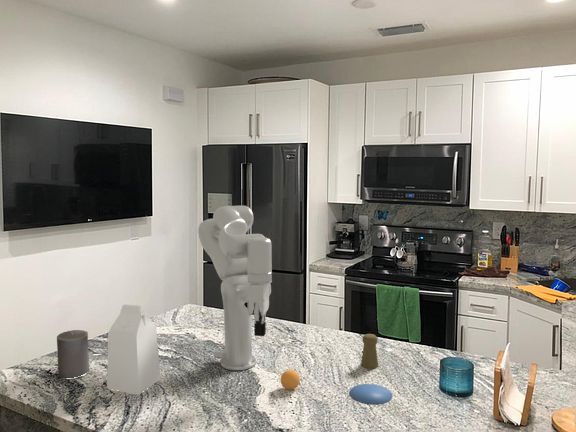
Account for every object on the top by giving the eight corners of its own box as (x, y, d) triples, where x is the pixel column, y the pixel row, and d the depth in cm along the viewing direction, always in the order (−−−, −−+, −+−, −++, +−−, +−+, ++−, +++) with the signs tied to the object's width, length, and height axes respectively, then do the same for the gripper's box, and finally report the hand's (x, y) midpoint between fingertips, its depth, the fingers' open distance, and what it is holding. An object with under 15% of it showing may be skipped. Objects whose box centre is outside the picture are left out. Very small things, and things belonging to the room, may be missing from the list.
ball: (279, 392, 152) (279, 373, 152) (282, 384, 158) (282, 366, 158) (298, 393, 151) (298, 375, 151) (300, 385, 157) (300, 367, 157)
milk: (160, 379, 162) (158, 302, 159) (139, 395, 151) (136, 312, 148) (130, 374, 166) (127, 299, 163) (107, 389, 155) (103, 309, 152)
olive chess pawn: (378, 369, 169) (378, 338, 168) (360, 368, 170) (360, 337, 169) (378, 362, 175) (379, 332, 174) (361, 361, 176) (361, 331, 175)
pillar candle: (53, 374, 166) (51, 331, 165) (82, 365, 174) (80, 324, 172) (65, 382, 160) (63, 338, 158) (94, 373, 167) (93, 330, 165)
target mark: (348, 402, 146) (348, 401, 146) (349, 383, 159) (349, 382, 158) (393, 405, 144) (393, 404, 144) (391, 385, 157) (391, 385, 157)
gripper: (253, 271, 161) (253, 326, 162) (241, 282, 146) (242, 342, 148) (275, 272, 159) (276, 327, 161) (266, 283, 145) (267, 344, 146)
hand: (260, 334), depth 154 cm, fingers closed
